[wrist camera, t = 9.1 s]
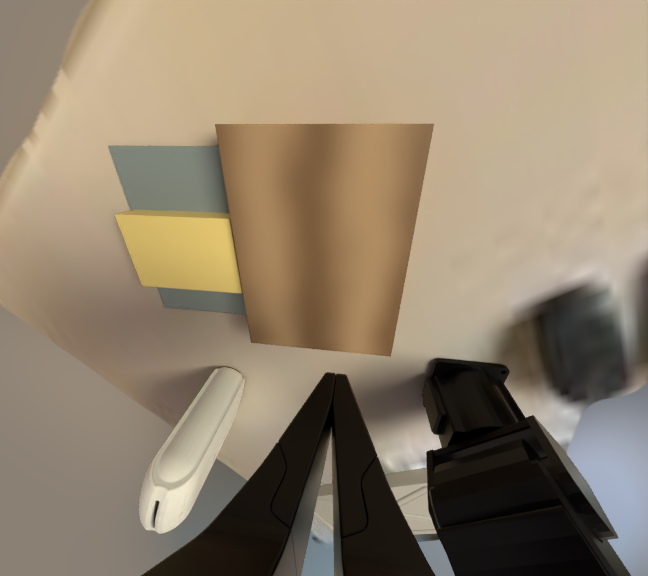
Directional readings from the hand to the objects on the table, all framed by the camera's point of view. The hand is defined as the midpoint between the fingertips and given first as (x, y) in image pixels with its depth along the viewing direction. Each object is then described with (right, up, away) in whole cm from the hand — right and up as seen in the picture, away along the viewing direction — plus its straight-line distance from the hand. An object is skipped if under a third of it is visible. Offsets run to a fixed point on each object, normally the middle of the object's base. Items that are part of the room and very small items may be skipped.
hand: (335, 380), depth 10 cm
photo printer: (-13, -9, +20) cm, 26 cm away
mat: (-11, +8, +11) cm, 18 cm away
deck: (0, +7, +10) cm, 12 cm away
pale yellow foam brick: (-11, +7, +11) cm, 17 cm away
